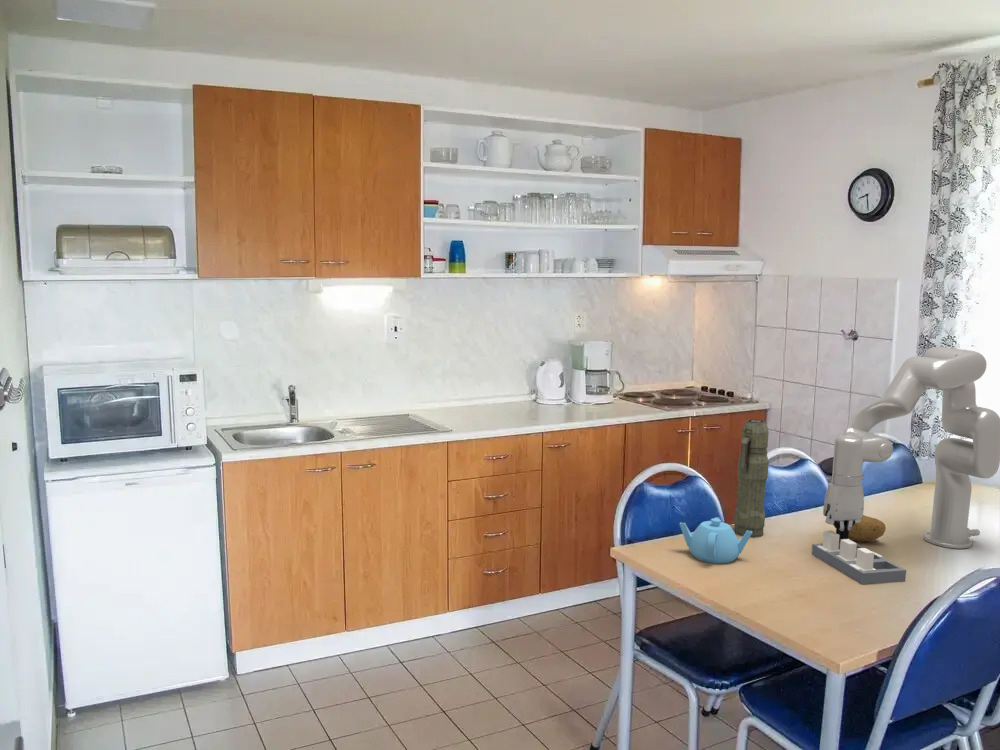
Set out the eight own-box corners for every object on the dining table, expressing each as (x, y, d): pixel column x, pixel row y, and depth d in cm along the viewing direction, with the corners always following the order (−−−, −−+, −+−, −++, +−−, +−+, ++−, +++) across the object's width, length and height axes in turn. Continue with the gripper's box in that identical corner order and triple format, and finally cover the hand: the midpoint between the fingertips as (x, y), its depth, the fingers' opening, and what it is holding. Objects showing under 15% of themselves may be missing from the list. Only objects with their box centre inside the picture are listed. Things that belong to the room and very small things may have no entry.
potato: (880, 550, 237) (882, 523, 236) (830, 539, 246) (832, 513, 244) (888, 541, 245) (890, 515, 244) (839, 531, 253) (841, 506, 252)
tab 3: (864, 570, 218) (866, 547, 217) (875, 576, 214) (877, 553, 213) (851, 571, 217) (853, 548, 217) (862, 577, 213) (864, 554, 212)
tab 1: (831, 551, 232) (833, 530, 231) (841, 557, 228) (843, 535, 227) (818, 552, 231) (820, 530, 230) (828, 558, 227) (830, 536, 226)
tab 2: (848, 560, 225) (849, 538, 224) (858, 566, 221) (860, 543, 220) (835, 561, 224) (837, 539, 223) (845, 567, 220) (847, 544, 219)
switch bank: (851, 551, 236) (852, 540, 235) (905, 580, 214) (906, 568, 214) (811, 554, 233) (812, 543, 232) (862, 584, 211) (863, 572, 211)
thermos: (726, 533, 248) (733, 421, 243) (743, 524, 257) (750, 416, 252) (753, 540, 243) (761, 425, 238) (770, 531, 251) (778, 420, 246)
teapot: (674, 550, 233) (676, 514, 232) (715, 543, 240) (718, 508, 238) (709, 569, 220) (711, 531, 218) (752, 561, 226) (755, 524, 225)
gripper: (861, 474, 232) (856, 536, 235) (814, 477, 229) (810, 540, 231) (878, 482, 225) (873, 545, 228) (831, 484, 222) (826, 549, 224)
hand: (841, 542), depth 230 cm, fingers closed
